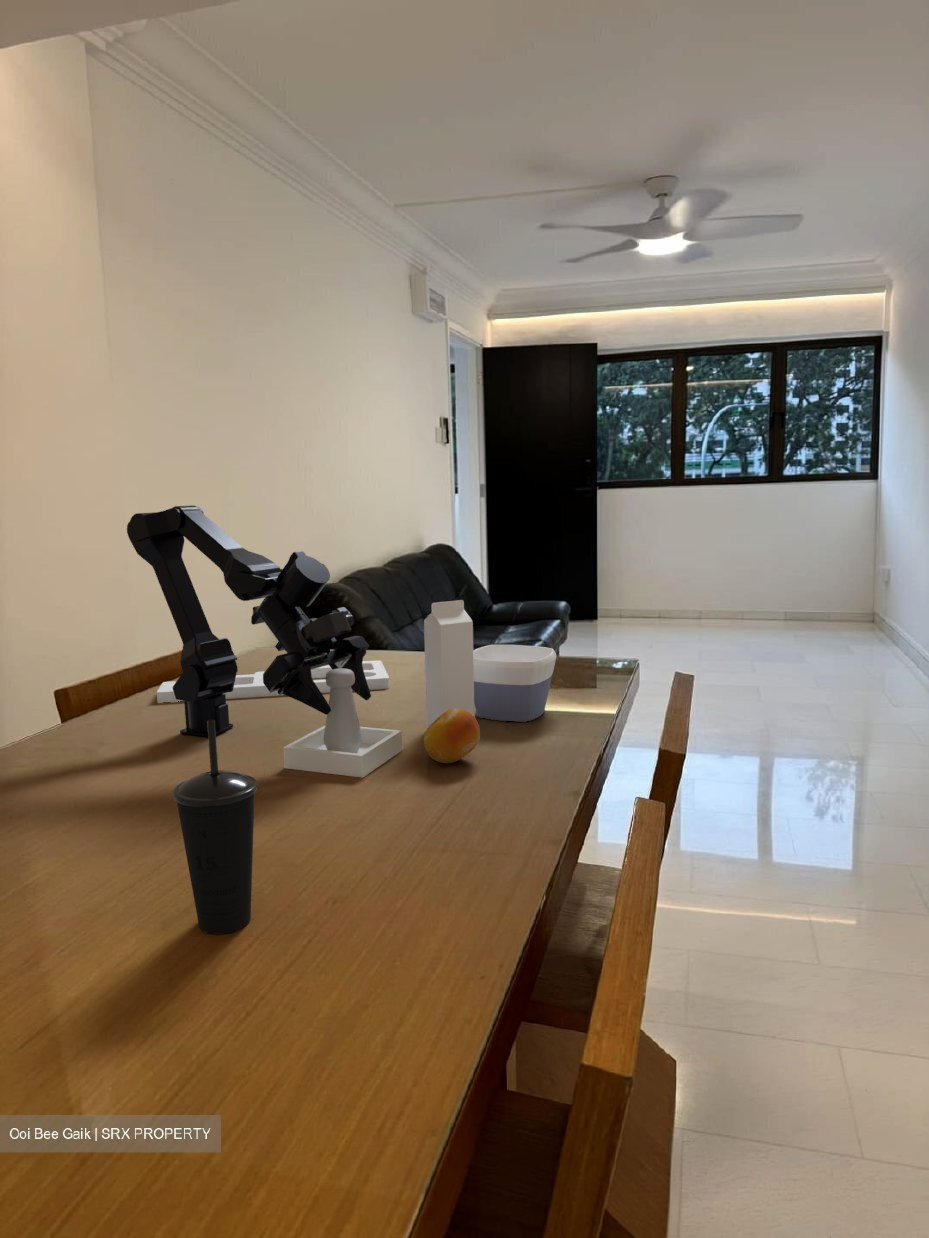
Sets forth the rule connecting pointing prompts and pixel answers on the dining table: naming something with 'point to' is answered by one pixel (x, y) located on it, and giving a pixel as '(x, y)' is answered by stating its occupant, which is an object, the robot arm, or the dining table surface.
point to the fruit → (452, 736)
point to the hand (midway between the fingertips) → (349, 705)
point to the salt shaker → (342, 713)
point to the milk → (448, 659)
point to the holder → (256, 688)
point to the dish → (343, 753)
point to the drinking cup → (218, 842)
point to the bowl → (512, 681)
